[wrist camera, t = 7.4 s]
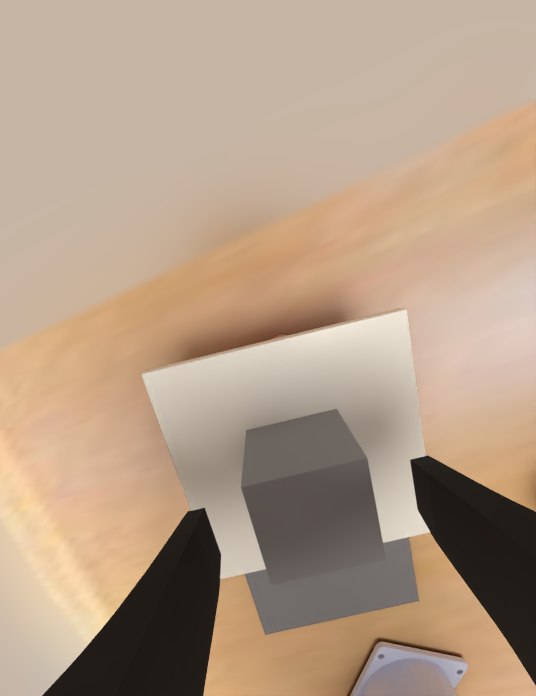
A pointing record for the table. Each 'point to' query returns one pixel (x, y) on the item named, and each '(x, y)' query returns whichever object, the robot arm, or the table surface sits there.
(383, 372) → the lid
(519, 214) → the table surface
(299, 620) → the mat
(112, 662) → the robot arm
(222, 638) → the table surface
